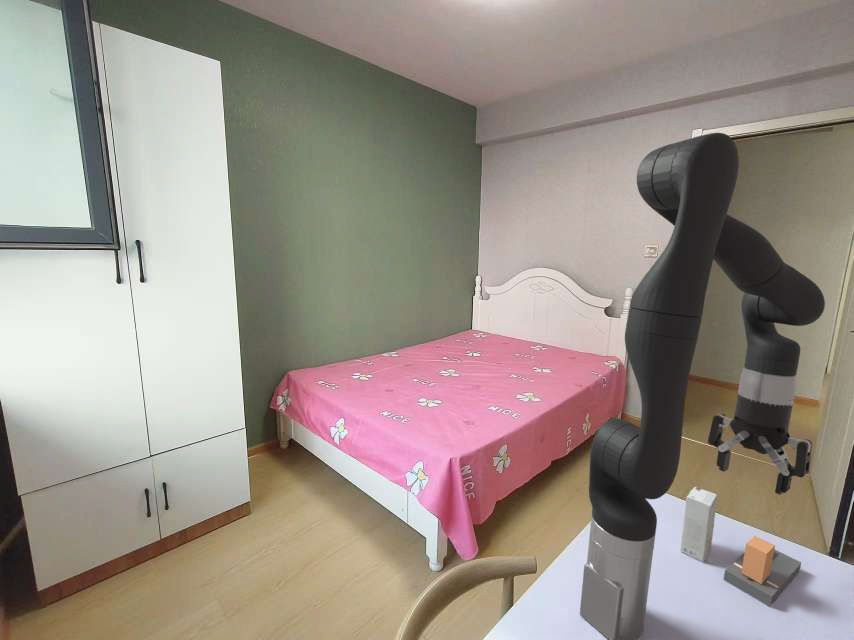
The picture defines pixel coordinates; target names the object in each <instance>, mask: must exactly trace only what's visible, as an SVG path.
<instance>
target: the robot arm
mask: <svg viewBox="0 0 854 640" xmlns="http://www.w3.org/2000/svg"><path fill="white" fill-rule="evenodd" d="M739 160H740V159H739V151H738V147H737V145H736V142H735V141H734V139H732V137H731V136H730V135H728V134H726V133H724V132H712V133H707V134H702V135H697V136H694V137H691V138H687V139H684V140H681V141H676V142H674V143H670V144H667V145H663V146H661V147H658V148H656V149H654V150H652V151H649V153H647V154H646V155H645V156H644V157H643V159H642V160H641V161H640V163H639V166H638V168H637V171H636V186H637V190H638V192H639V195H640V197H641V198H642V199H643V201H644V202H645V204H646V205H648V207H650V208H651V209H652V210H653V211H654V212H656V213H657V214H658V215H659V216H661V217H662V218H664V219H665V220H666V221H668V222H669V223H670V224H672V225H673V230H672V233H671V236H670V238H669V240H668V243H667V245H666V246H665V248H664V249H663V251H662V253H661V254H660V255H659V257H658V258H657V260H656V261H655V262H654V264H653V265H652V266H651V267H650V268H649V270H648V271H647V272H646V273H645V275H644V276H643V277H642V278H641V280H640V282H639V283H638V285H637V286H636V287H635V289H634V291H633V294H632V296H631V298H630V303H629V307H628V313H627V320H626V324H625V331H624V344H625V349H626V354H627V358H628V360H629V361H628V362H629V363H630V366H631V369H632V372H633V374H634V377H635V380H636V383H637V386H638V390H639V394H640V400H641V414H640V425H637V424H635V423H633V422H631V421H629V420H626V419H622V418H612V419H608V420H607V421H605V422H604V423H602V424H601V425H600V427H599V428H598V429H597V431H596V432H595V434H594V437H593V439H592V442H591V447H590V453H589V454H590V455H589V472H588V473H589V475H588V476H589V477H588V479H589V480H588V483H589V484H588V497H589V502H590V505H591V517H590V519H591V520H590V530H589V540H588V549H587V559H586V563H584V565H583V566H584V567H583V575H582V577H583V578H582V586H581V597H580V607H579V615H580V616H581V617H582V618H583V619H584V620H586V621H587V622H588V623H589V624H590V625H592V626H593V627H594V628H595V629H596V630H597V631H598V632H600V633H601V635H603V636H604V637H605V638H606V639H608V640H636V639H638V638H639V637H640V636H642V634H643V632H644V625H645V619H646V612H647V611H646V610H647V603H648V595H649V587H650V586H649V585H650V579H651V573H652V572H651V571H652V564H653V555H654V548H655V540H656V531H657V526H658V525H657V524H658V517H657V512H656V511H655V509H654V507H653V506H652V504H650V502H649V501H648V500H657V499H660V498H661V497H662V496H664V495H666V493H667V492H668V491H669V490H670V488H671V486H672V484H674V481H675V478H676V475H677V474H678V473H677V472H678V468H679V465H680V464H679V463H680V457H681V450H682V448H681V447H682V440H683V439H682V438H683V427H684V426H683V425H684V414H685V404H686V398H687V390H688V386H689V379H690V373H691V368H692V363H693V359H694V355H695V350H696V346H697V343H698V339H699V334H700V333H699V332H700V328H701V323H702V319H703V318H702V317H703V313H704V306H705V300H706V299H705V298H706V293H707V288H708V285H709V284H708V283H709V280H710V275H711V271H712V270H711V269H712V267H713V266H712V265H713V261H714V262H715V264H717V265H718V266H719V267H720V270H722V272H724V274H725V275H726V276H727V277H728V279H729V280H730V281H731V282H732V283H733V285H734V286H735V287H736V288H737V289H738V290H740V291H741V292H743V293H744V294H743V296H742V299H741V314H742V318H743V319H742V320H743V325H744V326H743V327H744V331H745V337H746V339H745V340H746V345H747V346H746V351H745V352H746V354H745V358H744V359H745V360H744V363H743V365H744V366H743V369H742V372H741V376H740V378H739V385H738V390H737V397H736V401H735V402H736V403H735V409H734V417H733V418H731V417H730V418H729V417H727V416H726V414H724V413H719V414H717V415H714V416H713V417H712V421H711V425H710V430H709V434H708V439H707V442H708V444H709V445H710V446H713V447H715V448H716V449H717V456H716V457H717V459H716V466H717V467H719V468H718V470H719V471H721V472H726V471H728V470H729V467H730V460H731V454H732V451H731V449H732V448H734V447H735V446H737V445H739V444H740V445H741V446H743V447H742V448H745V449H748V450H753V451H755V452H757V453H759V454H762V455H765V454H766V455H767V456H768V457H769V459H770V460H771V462H772V463H774V464H775V465H776V467H777V468H778V471H780V472H778V474H777V479H776V486H775V490H774V493H775V494H777V495H779V496H781V495H783V494H786V493H787V492H789V490H790V489H791V486H792V481H793V480H792V479H793V477H798V478H804V477H805V476H806V475H808V474H809V473H810V467H811V466H810V465H811V459H812V457H811V456H812V448H813V442H812V441H811V440H810V439H808V438H805V439H799V438H796V437H792V436H790V433H789V428H790V424H791V423H790V422H791V417H792V411H793V407H794V402H795V399H796V395H795V394H796V389H797V381H796V379H797V373H798V367H799V362H800V361H799V360H800V356H801V346H800V344H799V342H798V341H796V340H794V339H791V338H789V337H786V336H784V335H781V334H780V333H779V332H778V330H777V329H776V325H775V324H781V325H785V326H786V325H787V326H794V327H795V326H796V327H803V326H808V325H810V324H813V323H815V322H817V320H819V319H820V318H821V316H822V315H823V313H824V311H825V305H826V303H825V296H824V294H823V292H822V290H821V288H820V287H819V286H818V285H817V283H815V282H814V281H813V280H811V279H810V278H809V277H807V276H806V275H805V274H803V273H801V272H800V271H799V270H797V269H795V268H794V267H792V266H791V265H789V264H787V263H786V262H785V261H784V260H783V258H782V257H781V256H780V254H779V253H778V252H777V251H776V249H775V248H774V247H773V245H772V243H771V242H770V241H769V240H768V239H767V238H766V237H765V236H764V235H763V234H762V233H760V232H759V231H758V230H757V229H755V228H754V227H751V225H748V224H746V223H745V222H743V221H740V220H739V219H737V218H735V217H733V216H731V215H729V214H728V210H729V207H730V205H731V201H732V198H733V194H734V191H735V188H736V184H737V179H738V174H739V163H740V161H739ZM728 425H729V427H730V428H731V430H732V432H733V434H734V436H733V437H731V438H729V439H728V440H726V441H723V440H722V437H723V432H724V429H725V428H727V427H728ZM787 444H789V445H790V446H791V448H792V451H793V452H795V453H796V456H795V462H794V463H795V465H793V464H792V461H790V459H789V455H788V453H787V451H786V450H785V449H784V446H786V445H787Z"/></svg>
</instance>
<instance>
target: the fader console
mask: <svg viewBox="0 0 854 640" xmlns="http://www.w3.org/2000/svg"><path fill="white" fill-rule="evenodd" d="M744 554H745V551H744V552H743V553H742V554H741V555H740V556H739V557H737V558H736V559H735V560H734V561H733V562H732V563H731V564H730V565H728V567H726V568H725V570H724V574H723V581H725V582H727V583H729V584H730V585H732V586H734V587H735V588H737V589H739V590H740V591H742V592H743V593H745V594H747V595H749V596H751V597H752V598H754V599H755V600H757V601H759V602H760V603H762V604H765V605H766V606H768V607H772V605H773V604H774V603H775V602H776V600H777V599H779V597H780V596H781V595H782V593H783V592H784V591H785V590H786V588H788V586H789V585H790V584H791V583H792V581H793V580H794V579H795V578H796V576H797V575H799V573H800V571H801V568H802V567H801V566H802V562H801V561H799V560H797V559H795V558H793V557H791V556H789V555H788V554H785V553H783V552H781V551H779V550H777V549H774V555H773V560H772V566H771V571H770V575H769V576H768V577H767V578H766V580H765V581H764V582H763V583H762V584H760V583H758V582H757V581H755V580H753V579H751V578H750V577H748V576H746V575H744V574H742V573H741V572H742V566H743V560H744Z"/></svg>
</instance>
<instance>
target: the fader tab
mask: <svg viewBox="0 0 854 640" xmlns="http://www.w3.org/2000/svg"><path fill="white" fill-rule="evenodd" d="M775 548H776V545H775V544H773V543H771V542H769V541H767V540H765V539H763V538H760V537H759V536H756V535H754V536H753V537H752V538H751V539H749V540H748V541H747V542H746V543H745V549H744V552H745V554H744V560H743V566H742V572H741V573H742V574H744V575H746V576H748V577H750V578H751V579H753V580H755V581H757V582H758V583H760V584H762V583H763V582H764V581H765V580H766V578H767V577H768V576H769V575H770V571H771V566H772V560H773V555H774V549H775ZM775 550H776V549H775Z"/></svg>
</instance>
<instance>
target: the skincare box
mask: <svg viewBox="0 0 854 640" xmlns="http://www.w3.org/2000/svg"><path fill="white" fill-rule="evenodd" d="M717 499H718V495H717V494H716V493H714V492H711V491H709V490H705V489H702V488H699V487H697V486H694V487H693V488H692V489H691V490H690V491H689V493H688V495H687V496H686V499H685V507H684V516H683V523H682V524H683V525H682V532H681V533H682V534H681V542H680V553H683V554H684V555H686V556H689V557H690V558H693V559H694V560H696V561H699V562H701V563H703V562H705V561H706V560H707V558H708V556H709V554H710V552H711V549H712V543H713V535H714V527H715V517H716V508H717Z"/></svg>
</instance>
